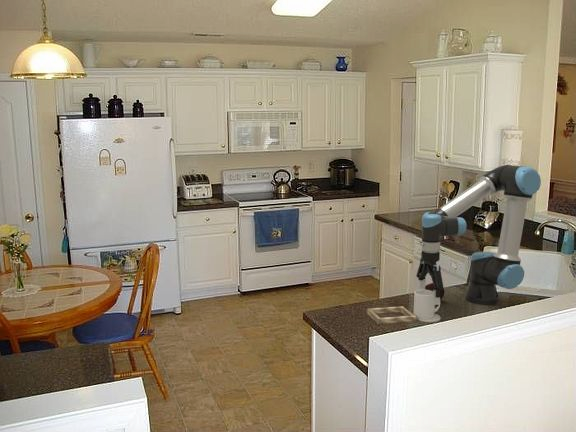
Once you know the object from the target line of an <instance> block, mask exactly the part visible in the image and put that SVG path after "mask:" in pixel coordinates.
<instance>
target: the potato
mask: <svg viewBox="0 0 576 432" xmlns="http://www.w3.org/2000/svg"><path fill="white" fill-rule="evenodd" d="M433 289H434V285H433V282H431V283H428V284H425V290H431V291H433ZM445 293H446V291H445V288H444V289H443V290H440V301H441V300H442V299H444V296H445Z"/></svg>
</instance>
